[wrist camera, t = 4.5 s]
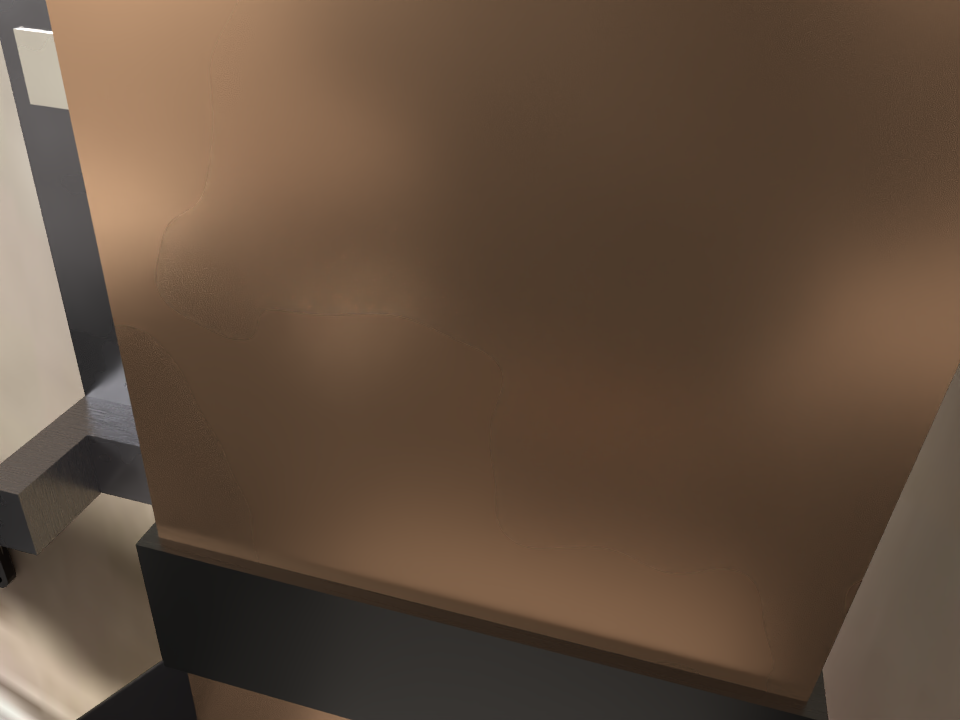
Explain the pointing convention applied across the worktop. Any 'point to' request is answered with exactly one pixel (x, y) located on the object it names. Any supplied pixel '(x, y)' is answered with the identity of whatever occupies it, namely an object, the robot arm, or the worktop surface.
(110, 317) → the collar stand
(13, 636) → the worktop surface
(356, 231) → the banded tan post
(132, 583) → the worktop surface
